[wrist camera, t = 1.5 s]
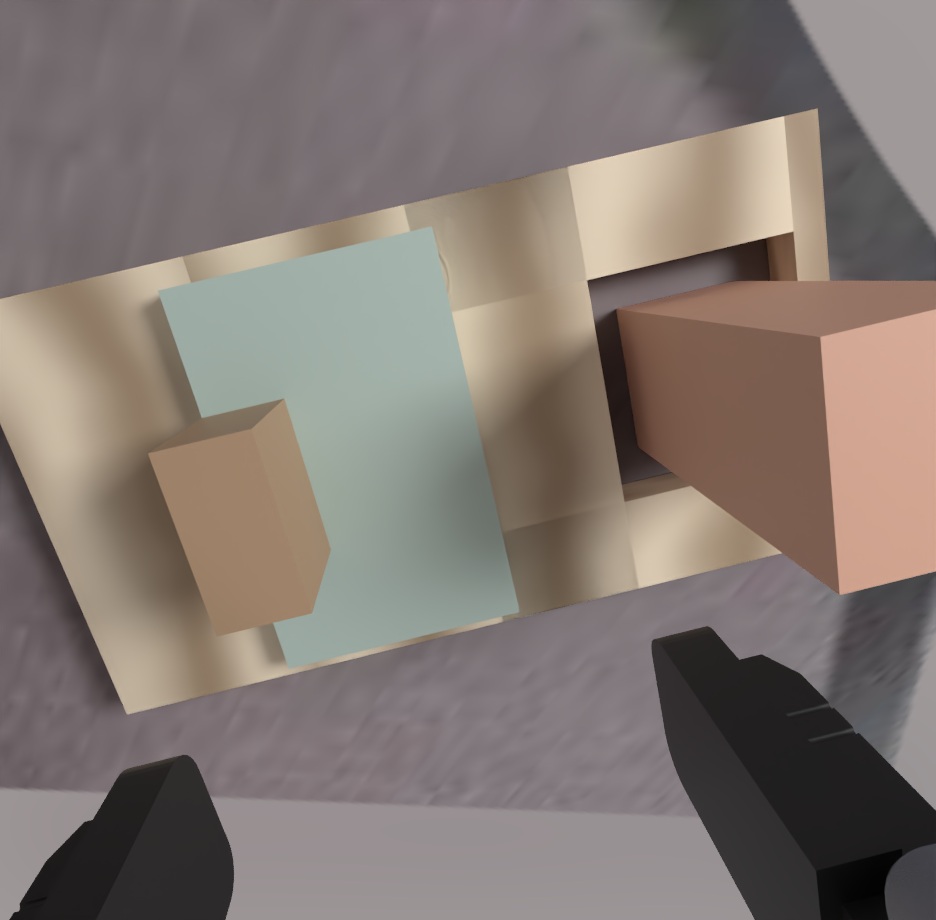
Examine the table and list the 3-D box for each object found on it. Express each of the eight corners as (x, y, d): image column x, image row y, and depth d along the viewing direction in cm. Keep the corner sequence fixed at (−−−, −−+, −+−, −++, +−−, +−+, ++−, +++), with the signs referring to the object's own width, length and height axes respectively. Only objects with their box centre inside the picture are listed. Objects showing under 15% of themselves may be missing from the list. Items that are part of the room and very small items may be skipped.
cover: (293, 655, 27) (261, 755, 22) (168, 290, 23) (87, 293, 17) (516, 600, 27) (543, 685, 22) (431, 228, 23) (437, 211, 18)
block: (638, 447, 29) (839, 595, 15) (616, 308, 27) (820, 336, 13) (749, 420, 29) (1047, 543, 15) (734, 280, 27) (1053, 281, 14)
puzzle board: (145, 686, 30) (127, 714, 28) (-14, 308, 25) (-50, 310, 23) (819, 520, 30) (847, 537, 28) (787, 121, 26) (817, 108, 24)
